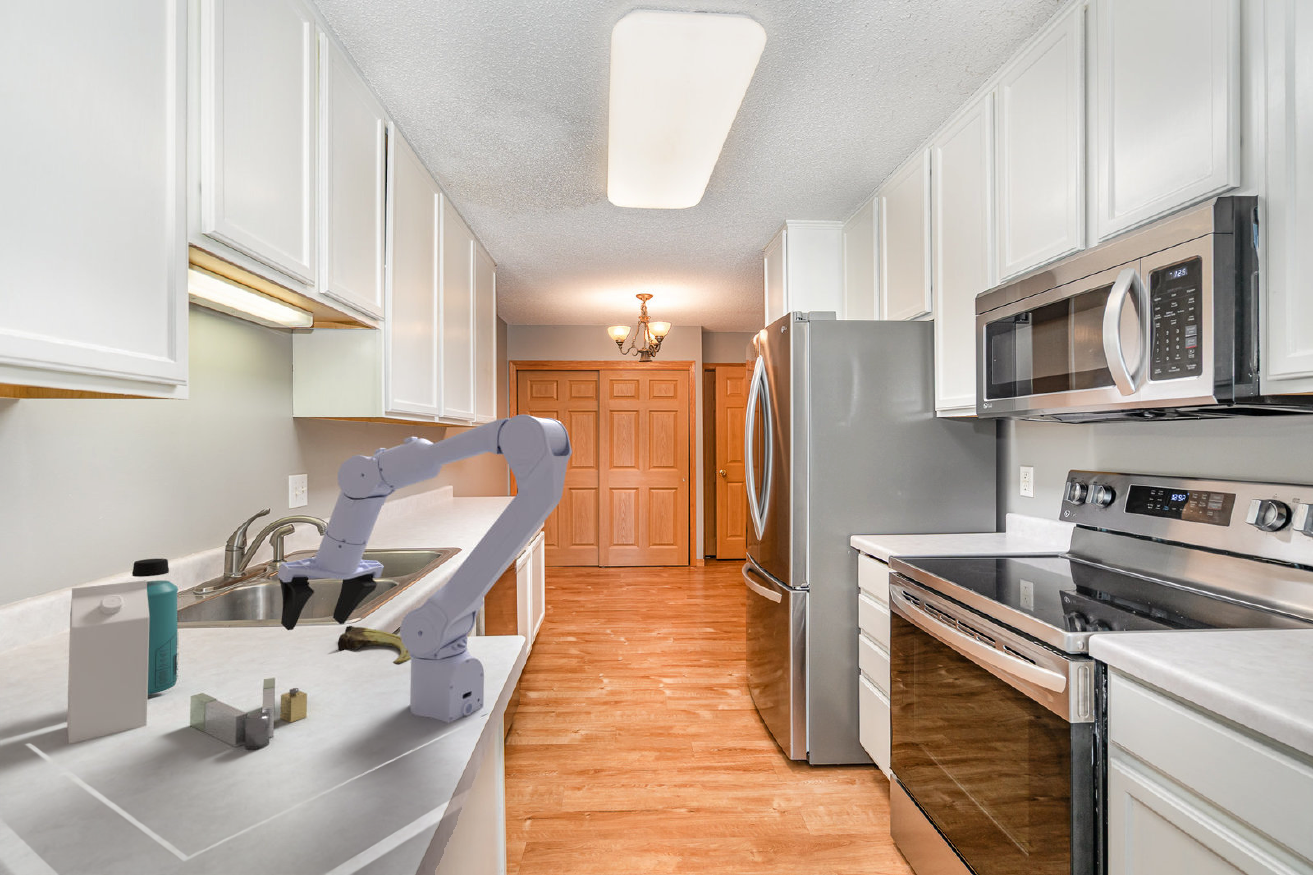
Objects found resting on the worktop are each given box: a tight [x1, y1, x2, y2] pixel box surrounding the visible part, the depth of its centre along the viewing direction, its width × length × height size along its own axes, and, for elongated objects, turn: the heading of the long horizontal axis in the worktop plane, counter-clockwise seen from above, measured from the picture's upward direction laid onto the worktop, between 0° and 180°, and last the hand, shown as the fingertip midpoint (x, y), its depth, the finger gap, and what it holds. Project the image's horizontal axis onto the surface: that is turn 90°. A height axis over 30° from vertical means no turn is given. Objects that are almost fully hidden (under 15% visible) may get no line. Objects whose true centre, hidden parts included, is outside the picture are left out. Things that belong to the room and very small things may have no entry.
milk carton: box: [66, 579, 149, 744], centre depth 79 cm, size 7×7×19 cm
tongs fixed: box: [189, 692, 270, 751], centre depth 76 cm, size 14×3×4 cm, turn 59°
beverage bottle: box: [131, 558, 180, 696], centre depth 91 cm, size 6×7×20 cm
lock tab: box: [279, 687, 308, 723], centre depth 81 cm, size 2×2×4 cm
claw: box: [337, 625, 411, 664], centre depth 114 cm, size 20×10×3 cm, turn 64°
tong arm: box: [261, 677, 276, 738], centre depth 80 cm, size 11×1×4 cm, turn 31°
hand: (313, 623), depth 89 cm, fingers open, 7 cm apart
